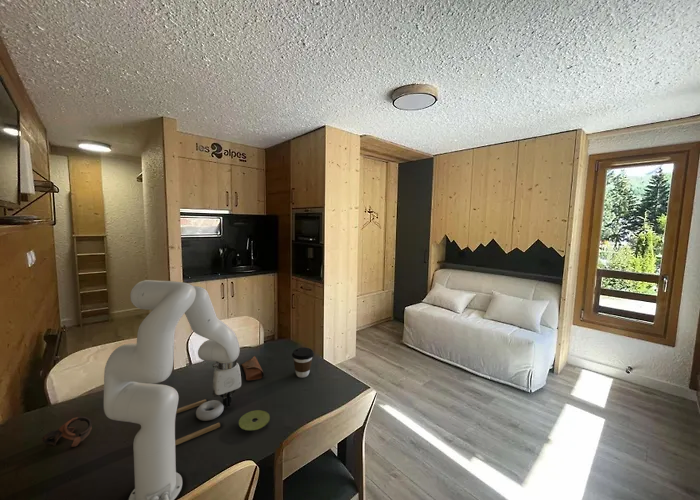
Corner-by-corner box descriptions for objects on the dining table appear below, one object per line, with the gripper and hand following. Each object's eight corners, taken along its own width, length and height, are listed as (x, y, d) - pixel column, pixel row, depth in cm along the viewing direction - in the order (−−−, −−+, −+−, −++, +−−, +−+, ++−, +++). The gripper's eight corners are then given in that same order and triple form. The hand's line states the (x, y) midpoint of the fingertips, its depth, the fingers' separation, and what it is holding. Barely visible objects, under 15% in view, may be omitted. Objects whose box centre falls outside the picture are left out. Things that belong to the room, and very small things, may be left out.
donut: (190, 421, 111) (213, 424, 109) (189, 412, 110) (213, 415, 109) (206, 405, 120) (229, 407, 119) (206, 397, 120) (228, 399, 119)
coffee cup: (287, 378, 143) (288, 354, 142) (296, 367, 153) (297, 345, 152) (308, 381, 140) (309, 358, 139) (316, 370, 151) (317, 348, 150)
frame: (220, 427, 108) (220, 424, 108) (166, 449, 97) (166, 446, 97) (205, 401, 122) (205, 398, 122) (157, 418, 111) (157, 415, 111)
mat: (248, 440, 102) (248, 434, 102) (233, 424, 110) (233, 419, 109) (275, 424, 111) (275, 419, 111) (259, 410, 118) (259, 406, 118)
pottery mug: (82, 427, 106) (92, 410, 105) (87, 450, 101) (97, 432, 100) (35, 439, 95) (45, 420, 94) (39, 465, 91) (49, 445, 89)
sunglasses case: (239, 364, 153) (246, 352, 155) (251, 368, 157) (257, 356, 158) (246, 381, 138) (253, 368, 139) (259, 384, 141) (266, 372, 143)
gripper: (209, 372, 109) (210, 417, 111) (248, 361, 119) (248, 402, 121) (204, 364, 115) (205, 407, 117) (241, 354, 125) (242, 394, 127)
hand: (227, 405), depth 119 cm, fingers closed
